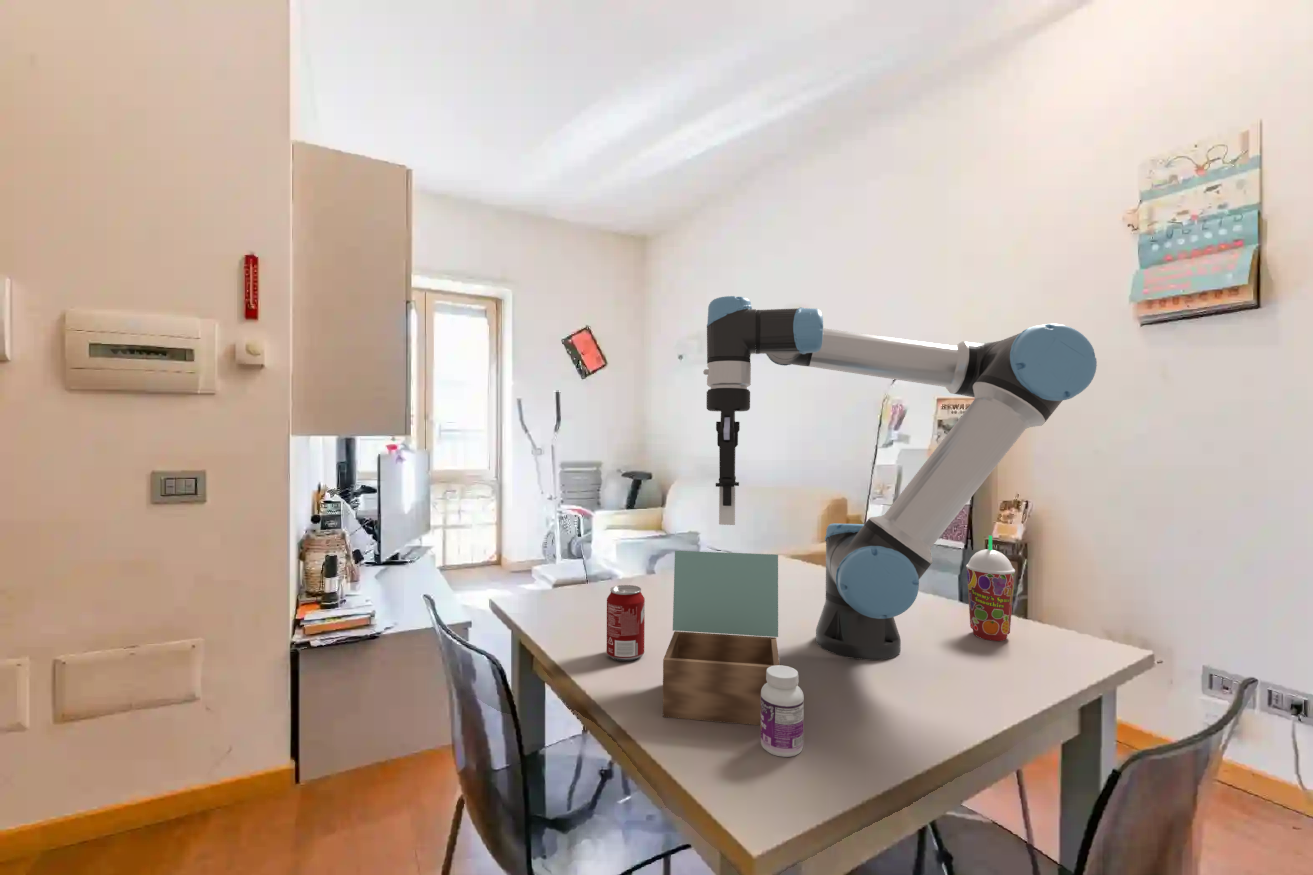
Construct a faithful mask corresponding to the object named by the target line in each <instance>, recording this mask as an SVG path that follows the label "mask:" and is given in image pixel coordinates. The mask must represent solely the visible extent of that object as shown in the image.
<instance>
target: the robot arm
mask: <svg viewBox="0 0 1313 875" xmlns="http://www.w3.org/2000/svg"><path fill="white" fill-rule="evenodd" d="M706 323H707V324H706V359H707V360H706V364H707V365H706V367H707V369H706V368H705V369H703V375H705V376H706V385H707V386H708V387H709V388H710V389H707V391H706V410H707V411H710V412H720V421H716V422H715V430H716V432H717V435H716V436H717V438H716V439H717V440H716V442H717V446H718V447H719V450H718V452H719V458H718V459H719V461H718V462H719V463H718V464H719V466H718V468H719V469H718V470H719V478H718V482H715V487H716V488H717V487H718V488H719V493H718V494H719V496H718V497H719V498H718V504H719V505H718V506H719V507H718V513H719V514H718V524H719V525H720V526H721V525H722V526H723V525H725V526H726V525H727V526H728V525H729V526H736V487H739V486H740V482H739V481H736V479H737V478H736V447H738V446H739V432H740V427H741V426H740V423H741V422H740V421H736V412H748V411H749V410H750V409H751V391H750V390H749V389H748V387H750V386H751V382H752V381H751V380H752V379H751V378H752V377H751V373H752V372H751V370H752V368H751V367H752V365H751V355H752V354H753V355H755V354H756V355H760V354H761V355H762V354H765V355H766V356H767V357H768V359H769V360H770V361H771V362H773V363H774V364H776V365H778V366H783V367H785V366H791V365H794V366H800V367H809V368H817V369H823V370H829V371H830V370H831V371H836V372H843V373H850V374H855V375H856V374H857V375H863V376H871V377H876V378H877V377H878V378H884V379H890V380H897V381H904V382H910V383H917V384H924V385H930V386H937V387H945V388H946V390H947V391H948V393H950V394H954V395H959V396H965V397H970V398H974V399H973V401H972V402H971V404H969V406H968V407H967V408H966V410H965V411H964V412H963V413H962V414H961V416H960V418H959V419H957V421H956V422H955V424H954V425H953V426H952V428H950V430H949V431H948V432H947V434H946V435H945V437H944V438H943V439H942V440H941V442H939V444H938V445H937V446H936V447H935V449H934V451H933V452H932V453H931V455H929V457H928V458H927V460H926V461H925V462H924V464H923V465H922V466H921V467H920V468H919V470H918V471H917V472H916V473H915V475H914V476H913V477H912V479H911V480H910V481H909V482H908V484H907V485H906V486H905V487H904V489H903V490H902V492H901V493H900V494H899V495H898V497H897V498H896V499H895V500H894V502H893V503H892V504H891V506H890V507H889V508H888V509H887V510H886V512H884V513H885V514H882V515H879V516H871V517H869V518H868V519H867V521H865V523H862V524H861V523H835V522H834V523H829V524H828V525H827V527H826V532H825V537H824V541H825V601H824V604H823V608H822V611H821V614H820V617H819V620H818V622H817V625H816V628H815V642H816V644H817V645H818V646H819V647H820V648H821V649H823V650H825V651H827V652H829V653H832V654H835V655H838V656H842V657H845V658H849V659H855V660H856V659H857V660H865V661H866V660H869V661H871V660H873V661H874V660H875V661H877V660H887V659H891V658H894V657H896V656H898V655H900V653H901V649H902V648H901V645H902V644H901V643H902V642H901V636H900V633H899V629H898V627H897V623H896V621H895V617H898V616H900V615H902V614H904V613H905V612H907V611H908V609H910V608H911V607H912V605H913V604H914V603H915V601H916V599H917V597H918V593H919V590H920V589H919V588H920V579H921V578H922V577H923V575H924V574H925V573H926V572H927V571H928V569H929V568H930V567H931V565H932V564H933V558H932V557H933V556H932V552H931V550H932V547H933V546H934V544H936V542H937V541H938V540H939V538H940V537H941V536H942V534H943V533H944V532H945V531H946V529H947V528H948V527H949V526H950V524H951V523H952V522H953V521H954V520H955V518H957V516H958V515H959V513H960V512H961V511H962V509H963V508H964V507H965V506H966V504H967V503H968V502H969V501H970V499H971V498H972V497H973V496H974V495H975V493H976V492H977V491H978V489H979V488H980V487H981V486H982V485H983V483H984V482H985V481H986V480H987V478H988V477H989V476H990V475H991V473H992V472H993V471H994V470H995V468H996V467H997V466H998V465H999V463H1000V462H1001V460H1003V458H1004V457H1005V456H1006V455H1007V453H1008V452H1009V451H1010V450H1011V449H1012V447H1013V446H1014V444H1015V443H1016V442H1017V441H1018V439H1019V438H1020V437H1021V436H1022V435H1023V433H1024V432H1025V431H1026V430H1027V429H1029V428H1035V427H1041V426H1044V424H1045V423H1046V422H1047V420H1048V419H1050V417H1051V416H1052V415H1053V413H1054V412H1055V411H1056V410H1057V408H1058V407H1059V406H1060V405H1061V403H1063V401H1067V400H1071V399H1072V398H1074V397H1076V396H1077V395H1079V394H1081V393H1082V392H1083V391H1085V390H1086V389H1087V388H1088V387H1089V385H1090V384H1091V383H1092V382H1093V380H1094V377H1095V375H1096V373H1097V372H1096V371H1097V366H1098V364H1097V362H1098V361H1097V357H1096V353H1095V349H1094V347H1093V345H1092V343H1091V341H1090V340H1089V339H1088V338H1087V337H1086V336H1085V335H1084V334H1083V333H1082V332H1080V331H1079V330H1077V329H1076V328H1073V327H1072V326H1068V325H1065V324H1059V323H1047V324H1046V323H1045V324H1040V325H1039V324H1038V325H1034V326H1030V327H1028V328H1026V329H1024V330H1023V331H1022V332H1019V333H1016V334H1014V335H1012V336H1009V337H1006V338H1004V339H1001V340H996V341H991V342H970V341H961V342H959V343H958V344H956V345H949V344H942V343H934V342H930V341H929V342H927V341H920V340H919V341H918V340H914V339H913V340H912V339H906V338H905V339H904V338H897V337H892V336H891V337H889V336H883V335H876V334H868V333H862V332H853V331H847V330H846V331H845V330H838V329H832V328H831V329H830V328H824V316H823V312H822V311H821V310H820V309H818V308H808V307H806V308H805V307H800V306H799V307H798V308H776V309H775V308H773V309H772V308H771V309H755V308H754V309H753V306H752V303H751V299H749V298H747V297H745V296H735V295H730V296H729V295H728V296H727V295H726V296H720V297H716V298H714V299H712V300H711V301H710V303H709V304H708V308H707V322H706Z"/></svg>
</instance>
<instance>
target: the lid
mask: <svg viewBox="0 0 1313 875" xmlns="http://www.w3.org/2000/svg"><path fill="white" fill-rule="evenodd" d="M673 571H674V573H673V601H672V602H673V609H672V611H673V612H672V631H678V632H694V633H711V634H727V635H743V636H759V637H775V638H778V637H779V554H777V553H776V554H774V553H745V552H744V553H743V552H728V551H727V552H723V551H722V552H721V551H700V550H699V551H693V550H674V570H673Z"/></svg>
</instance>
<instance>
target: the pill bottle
mask: <svg viewBox="0 0 1313 875" xmlns="http://www.w3.org/2000/svg"><path fill="white" fill-rule="evenodd" d="M766 680H767V683H766V684H764V686H763V687H762V689H761V725H760V745H761V747H762V748H763V750H764V751H766V752H767V753H768V754H771V755H773V756H777V757H781V758H782V757H783V758H787V757H791V758H792V757H794V756H797V755H799V754H800V753H801V752H802V750H803V749H804V748H803V747H804V706H805V704H804V703H805V702H804V701H805V700H804V692H803V690H802V688H801V687H800V686H798V685H799V682H800V681H799V671H798V670H797V669H795V668H793V667H791V666H788V665H782V664H781V665H775V666H771V667H768V668H767V670H766Z"/></svg>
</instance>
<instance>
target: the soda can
mask: <svg viewBox="0 0 1313 875" xmlns="http://www.w3.org/2000/svg"><path fill="white" fill-rule="evenodd" d="M645 602H646V601H645V596H644V595H643V594H642V588H641V587H640V586H638V585H632V584H621V585H615V586H612V587H611V588H610V593H609V595H608V596H607V598H606V649H605V650H606V651H605V652H606V654H607V656H608V657H610V658H612V659H613V660H615V661H619V662H631V661H634V660H635V661H636V660H637V659H639V658H640V657H642V656H643V655H644V654H645V615H646V614H645V613H646V612H645V611H646V610H645V606H646V605H645Z"/></svg>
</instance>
